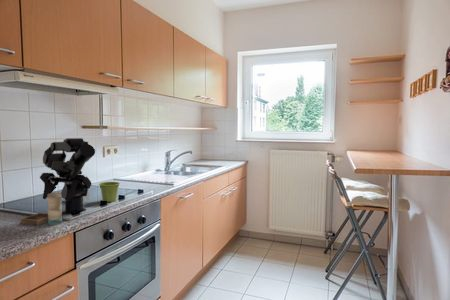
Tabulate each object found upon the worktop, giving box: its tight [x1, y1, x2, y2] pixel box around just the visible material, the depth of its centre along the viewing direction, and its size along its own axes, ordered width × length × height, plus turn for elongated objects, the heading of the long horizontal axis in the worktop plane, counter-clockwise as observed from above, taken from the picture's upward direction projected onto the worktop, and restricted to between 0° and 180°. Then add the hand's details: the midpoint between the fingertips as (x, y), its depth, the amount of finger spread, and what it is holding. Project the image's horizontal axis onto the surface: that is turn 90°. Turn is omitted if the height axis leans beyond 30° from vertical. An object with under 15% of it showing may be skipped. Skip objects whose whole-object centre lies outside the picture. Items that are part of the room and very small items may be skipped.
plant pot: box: [98, 181, 120, 203], centre depth 142 cm, size 9×9×9 cm
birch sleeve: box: [47, 192, 63, 226], centre depth 108 cm, size 4×4×11 cm
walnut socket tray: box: [19, 212, 48, 227], centre depth 110 cm, size 8×8×2 cm
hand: (54, 199), depth 108 cm, fingers open, 9 cm apart
